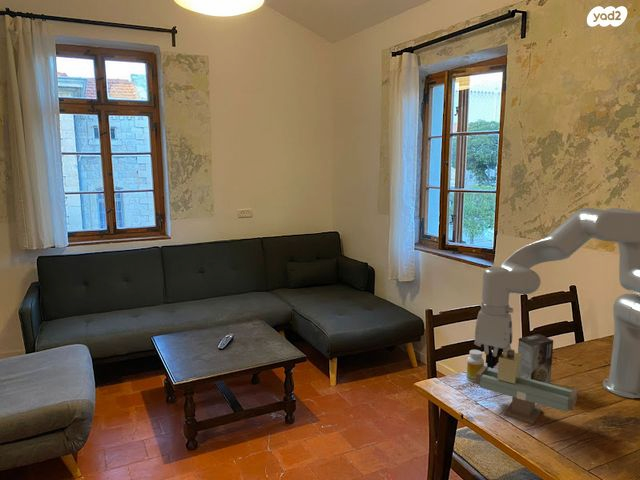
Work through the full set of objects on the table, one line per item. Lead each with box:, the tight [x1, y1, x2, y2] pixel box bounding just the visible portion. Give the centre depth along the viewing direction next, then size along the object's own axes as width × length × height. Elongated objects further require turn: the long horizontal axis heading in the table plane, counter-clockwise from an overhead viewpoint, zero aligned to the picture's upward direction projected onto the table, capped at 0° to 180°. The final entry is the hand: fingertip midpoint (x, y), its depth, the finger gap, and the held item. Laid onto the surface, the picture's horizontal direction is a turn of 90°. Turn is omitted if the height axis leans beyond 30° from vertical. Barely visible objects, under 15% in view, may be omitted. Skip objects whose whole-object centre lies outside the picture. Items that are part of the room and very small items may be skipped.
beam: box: [475, 365, 579, 425], centre depth 142 cm, size 26×9×10 cm, turn 53°
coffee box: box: [517, 333, 554, 384], centre depth 158 cm, size 9×6×16 cm
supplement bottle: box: [466, 349, 485, 383], centre depth 163 cm, size 5×5×10 cm
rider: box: [497, 348, 522, 384], centre depth 143 cm, size 5×6×10 cm
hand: (491, 366), depth 146 cm, fingers closed
